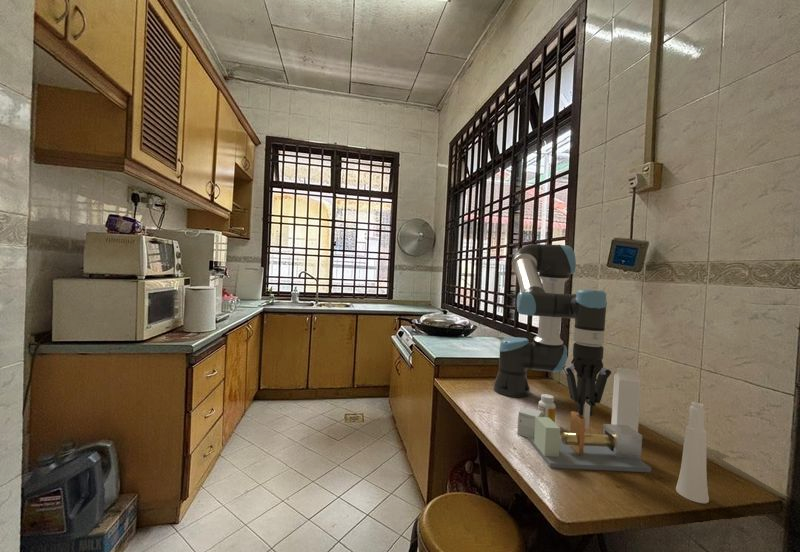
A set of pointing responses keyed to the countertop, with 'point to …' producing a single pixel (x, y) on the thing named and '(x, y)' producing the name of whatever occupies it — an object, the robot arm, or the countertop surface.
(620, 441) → the grey cube end cap
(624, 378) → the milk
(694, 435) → the cosmetic bottle
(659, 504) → the countertop surface
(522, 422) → the product box
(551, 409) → the supplement bottle
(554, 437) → the socket
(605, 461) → the board
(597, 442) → the tube
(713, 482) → the countertop surface
